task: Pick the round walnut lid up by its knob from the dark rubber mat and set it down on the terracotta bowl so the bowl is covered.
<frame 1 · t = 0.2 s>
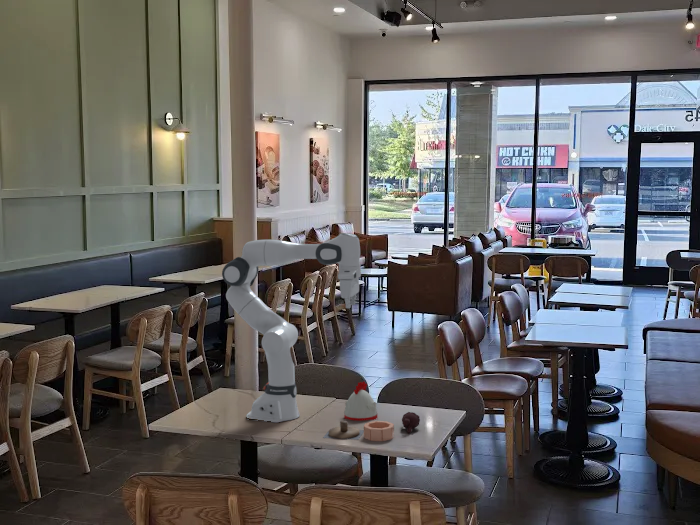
hand: (350, 306, 326), 47 cm above the table, tool pointing down, fingers open, 8 cm apart
lid: (344, 434, 309), point 1 cm above the table, touching mat
icecream: (410, 429, 316), on the table
bowl: (379, 437, 305), on the table
mat: (344, 435, 309), on the table
kitchen timer: (360, 417, 334), on the table
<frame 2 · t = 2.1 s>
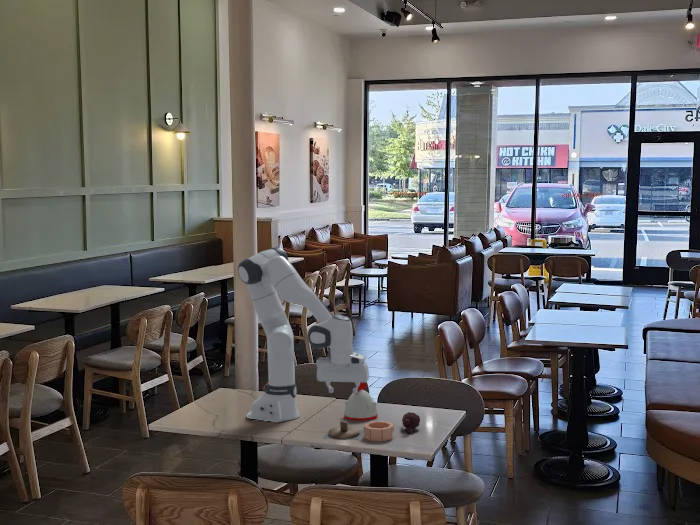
hand: (343, 392, 307), 17 cm above the table, tool pointing down, fingers open, 8 cm apart
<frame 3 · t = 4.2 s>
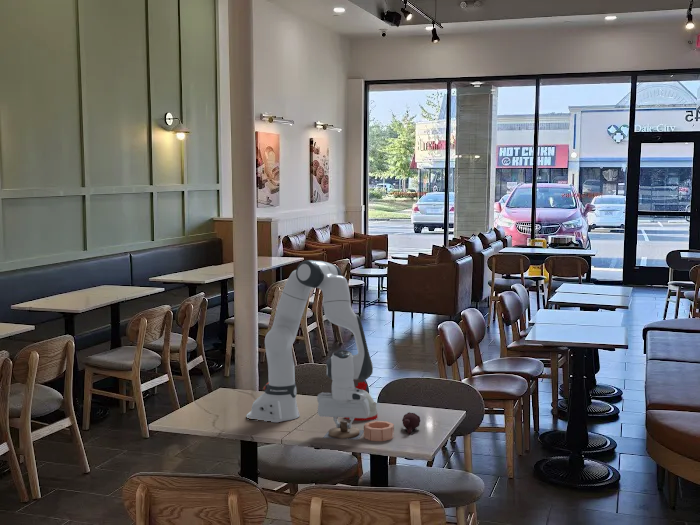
hand: (344, 428, 309), 3 cm above the table, tool pointing down, fingers closed on lid, 3 cm apart
lid: (344, 434, 309), point 1 cm above the table, touching gripper, mat
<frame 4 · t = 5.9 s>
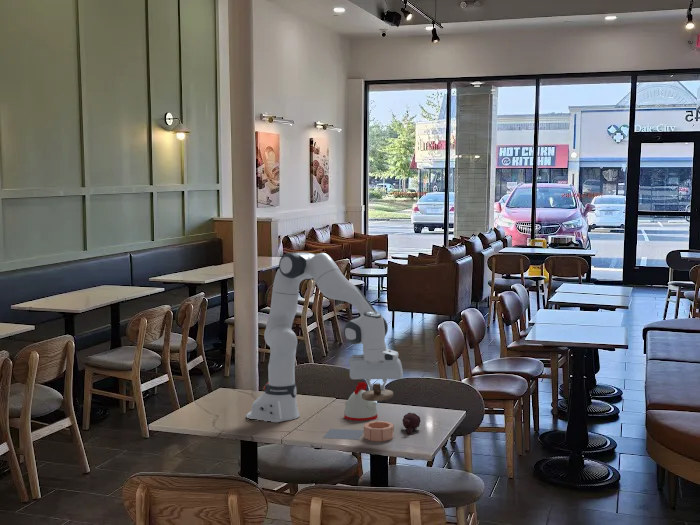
hand: (377, 390, 304), 18 cm above the table, tool pointing down, fingers closed on lid, 3 cm apart
lid: (377, 396, 304), point 16 cm above the table, touching gripper
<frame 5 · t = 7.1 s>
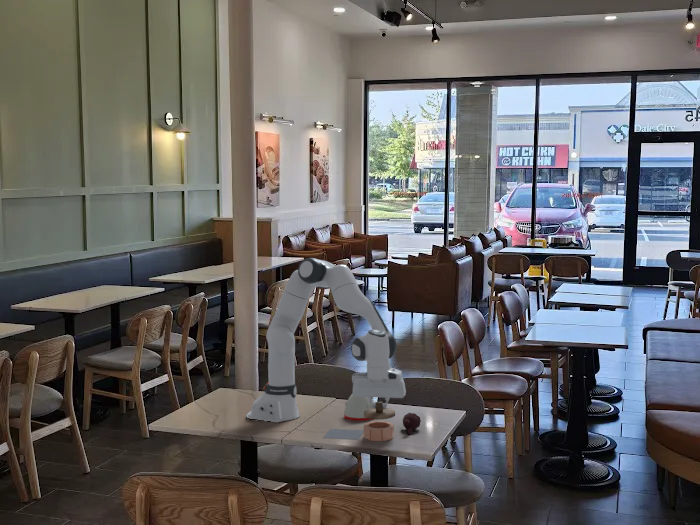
hand: (379, 408, 304), 11 cm above the table, tool pointing down, fingers closed on lid, 3 cm apart
lid: (379, 414, 304), point 9 cm above the table, touching gripper
when the fingers open (9 cm above the table, at t = 7.8 s): lid drops 1 cm, resting on bowl.
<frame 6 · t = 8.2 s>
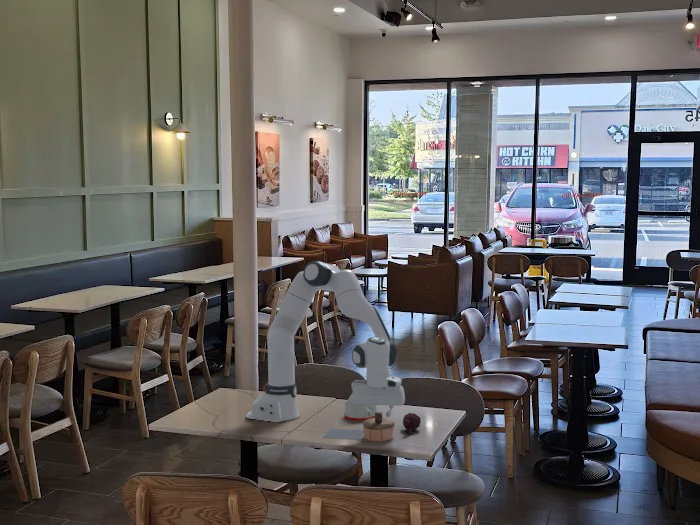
hand: (378, 415, 304), 9 cm above the table, tool pointing down, fingers open, 6 cm apart
lid: (378, 425, 304), point 5 cm above the table, touching bowl
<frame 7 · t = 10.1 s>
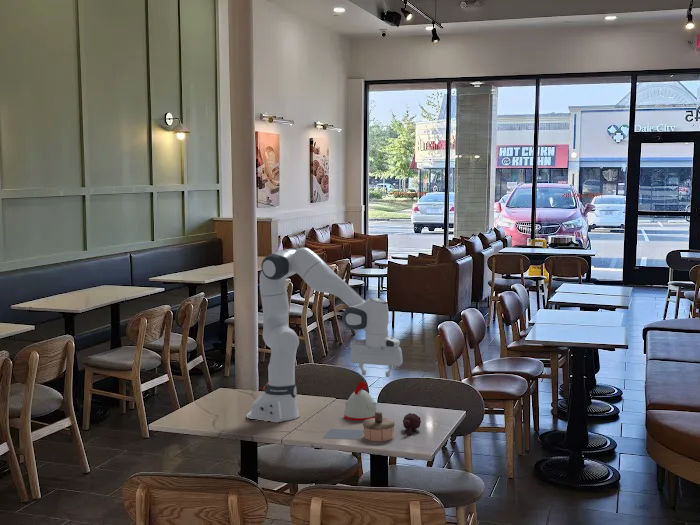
hand: (375, 375, 308), 23 cm above the table, tool pointing down, fingers open, 8 cm apart
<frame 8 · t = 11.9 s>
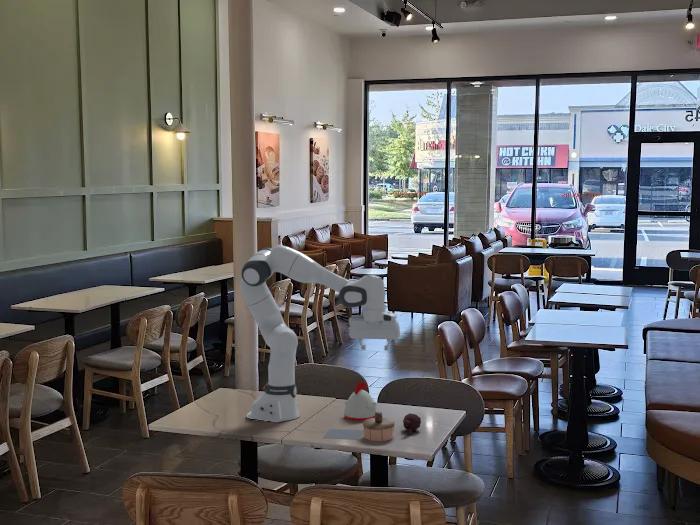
hand: (374, 349, 318), 31 cm above the table, tool pointing down, fingers open, 8 cm apart
at the end: lid 0.1 cm from the bowl (horizontally); lid 0.1 cm off-centre on the bowl, point 5.0 cm above the bowl's base; lid tilted 0° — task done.
